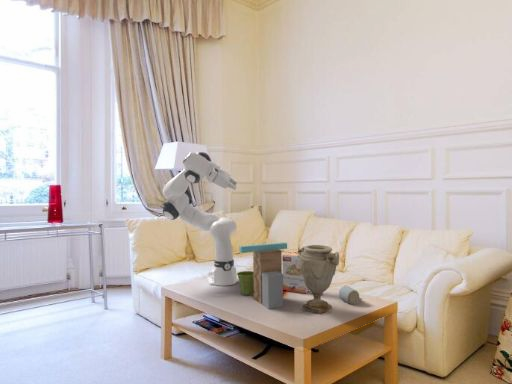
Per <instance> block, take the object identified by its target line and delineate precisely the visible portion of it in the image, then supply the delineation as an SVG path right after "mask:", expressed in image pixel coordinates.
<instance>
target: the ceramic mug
mask: <svg viewBox="0 0 512 384" xmlns="http://www.w3.org/2000/svg"><path fill="white" fill-rule="evenodd" d="M338 291H339V292H338V297H339V299H340V300H341V301H342V302H346V303H348V304H351V305H355V304H357V303H358V302H362V300H363V298H361V297H360V293H359V292H358V291H357V290H356V289H355V288H352V287H351V286H348V285H342V286H341V287H340V289H339V290H338Z"/></svg>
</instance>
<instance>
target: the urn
mask: <svg viewBox="0 0 512 384" xmlns="http://www.w3.org/2000/svg"><path fill="white" fill-rule="evenodd" d="M297 250H298V251H297V254H299V255H298V257H299V265H300V272H301V274H302V276H303V279H304V283H305V285H306V287H307V288H308V289H309V291H310V292H311V294H312V296H313V298H312V299H309V300H307V301H306V302H305V303H303V304H301V305H302V306H301V307H302V309H303V310H306V311H308V312H311V313H314V314H318V315H319V314H323V313H326V312H329V311H331V310H332V309H333V306H332V305H331V304H330V303H328V301H325V300H324V299H321V297H322V296H323V293H324V292H326V290H328V289H329V288H330V286H331V284H332V282H333V281H332V280H333V278H334V276H335V275H336V272H337V271H336V269H337V267H338V266H339V264H340V263H339V261H340V253H339V252H338V251H335V252H334V253H333V252H332V251H333V248H332V247H330V246H328V245H321V244H309V245H306V246H302V247H301V248H298V249H297Z"/></svg>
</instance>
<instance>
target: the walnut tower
mask: <svg viewBox="0 0 512 384" xmlns="http://www.w3.org/2000/svg"><path fill="white" fill-rule="evenodd" d="M282 254H283V253H282V249H279V250H268V251H258V252H252V259H253V261H252V262H253V263H252V265H253V267H252V268H253V277H254V294H253V300H255V301H256V302H258V303H259V304H260V305H262V273H265V272H273V271H277V272H279V273H281V274H283V269H282Z"/></svg>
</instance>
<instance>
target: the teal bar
mask: <svg viewBox="0 0 512 384" xmlns="http://www.w3.org/2000/svg"><path fill="white" fill-rule="evenodd" d="M268 250H288V243H287V242H273V243H272V242H271V243H262V244H261V243H260V244H250V245H249V244H248V245H239V248H238V251H239V253H240V254H244V253H246V254H248V253H253V252H258V251H268Z"/></svg>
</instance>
